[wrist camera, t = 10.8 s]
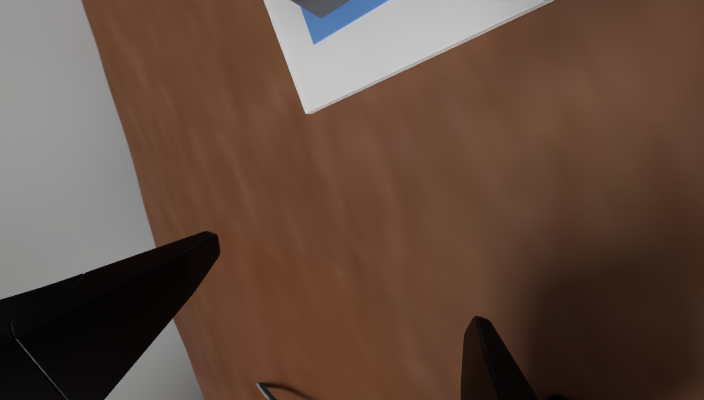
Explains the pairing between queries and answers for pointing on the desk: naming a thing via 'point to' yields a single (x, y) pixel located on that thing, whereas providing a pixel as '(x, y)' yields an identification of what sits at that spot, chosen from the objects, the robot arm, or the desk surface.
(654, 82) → the desk surface
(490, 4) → the white block board
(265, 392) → the sunglasses
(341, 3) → the tall grey square pillar
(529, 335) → the desk surface
